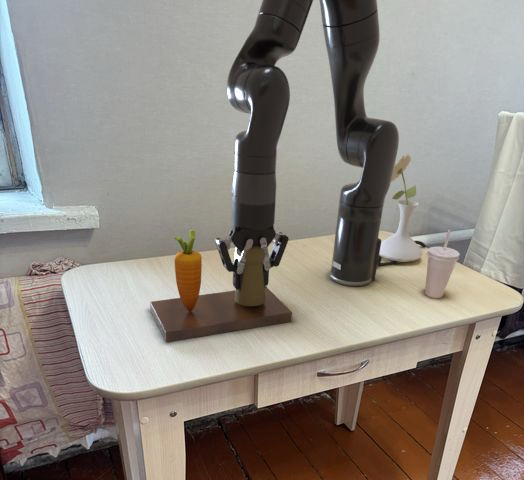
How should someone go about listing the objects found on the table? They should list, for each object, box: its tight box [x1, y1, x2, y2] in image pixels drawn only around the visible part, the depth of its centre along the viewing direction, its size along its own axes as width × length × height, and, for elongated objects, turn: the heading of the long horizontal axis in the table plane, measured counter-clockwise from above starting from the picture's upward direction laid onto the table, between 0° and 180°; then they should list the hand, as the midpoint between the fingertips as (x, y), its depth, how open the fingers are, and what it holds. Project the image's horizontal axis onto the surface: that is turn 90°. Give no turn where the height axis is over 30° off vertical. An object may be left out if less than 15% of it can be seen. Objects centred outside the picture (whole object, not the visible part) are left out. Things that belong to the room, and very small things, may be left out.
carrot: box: [174, 229, 203, 312], centre depth 89 cm, size 5×5×15 cm
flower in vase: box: [379, 153, 423, 263], centre depth 121 cm, size 13×11×25 cm
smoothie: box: [424, 229, 461, 299], centre depth 105 cm, size 6×6×14 cm
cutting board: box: [149, 286, 293, 343], centre depth 95 cm, size 24×12×2 cm, turn 113°
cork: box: [234, 246, 266, 306], centre depth 94 cm, size 6×6×11 cm
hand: (250, 288), depth 95 cm, fingers closed on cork, 4 cm apart
